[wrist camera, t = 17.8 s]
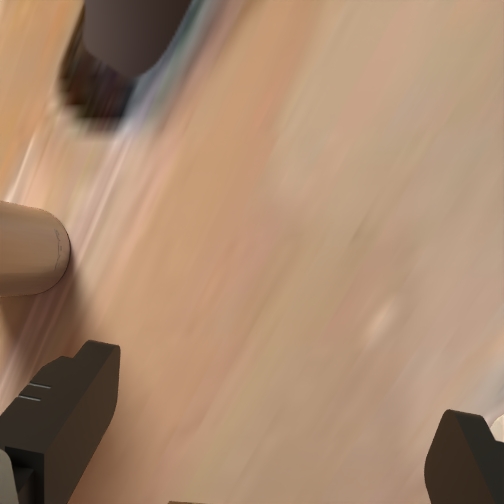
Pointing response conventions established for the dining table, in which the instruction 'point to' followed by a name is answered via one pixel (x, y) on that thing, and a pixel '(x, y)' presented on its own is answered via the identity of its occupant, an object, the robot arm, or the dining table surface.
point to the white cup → (498, 429)
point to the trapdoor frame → (182, 503)
